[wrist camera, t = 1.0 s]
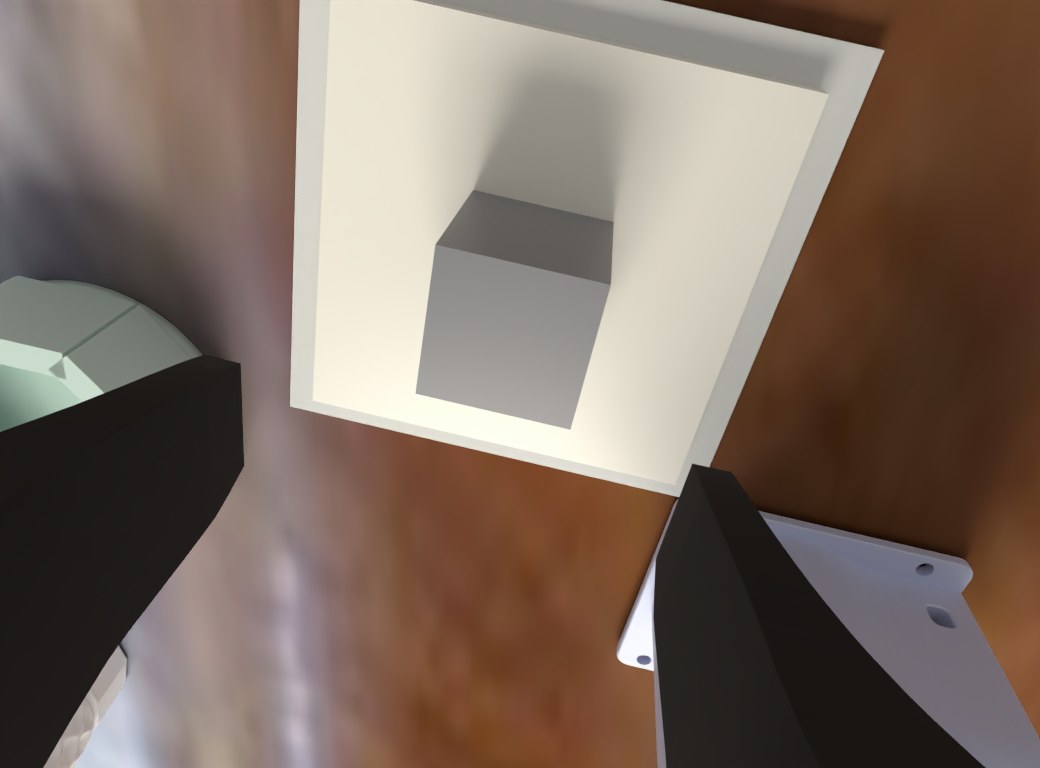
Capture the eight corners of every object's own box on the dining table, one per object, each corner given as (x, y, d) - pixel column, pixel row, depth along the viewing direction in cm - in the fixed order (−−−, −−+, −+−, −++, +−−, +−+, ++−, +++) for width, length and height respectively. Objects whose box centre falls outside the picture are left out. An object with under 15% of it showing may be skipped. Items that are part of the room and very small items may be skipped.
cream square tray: (877, 48, 16) (884, 50, 15) (693, 491, 22) (695, 501, 22) (310, -79, 16) (301, -81, 15) (296, 398, 23) (290, 406, 22)
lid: (820, 88, 16) (889, 130, 12) (673, 468, 22) (684, 586, 17) (343, -19, 16) (245, -15, 12) (322, 387, 22) (251, 484, 18)
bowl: (237, 312, 22) (163, 376, 18) (241, 528, 26) (183, 612, 23) (-49, 245, 22) (-175, 298, 18) (6, 472, 26) (-86, 548, 23)
